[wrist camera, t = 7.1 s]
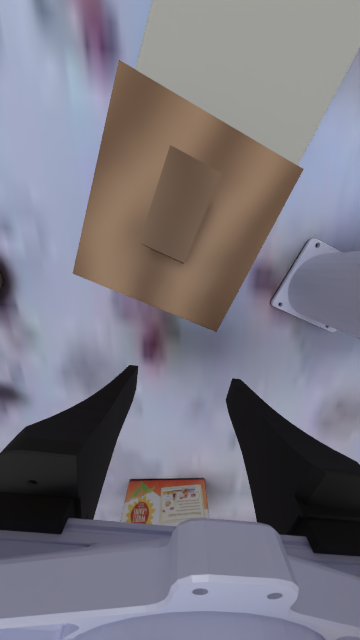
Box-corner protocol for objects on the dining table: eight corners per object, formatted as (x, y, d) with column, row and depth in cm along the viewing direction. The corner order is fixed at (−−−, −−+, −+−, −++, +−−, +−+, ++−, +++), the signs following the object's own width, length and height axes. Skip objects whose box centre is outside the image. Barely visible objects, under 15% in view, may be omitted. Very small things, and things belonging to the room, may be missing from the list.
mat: (393, -23, 12) (402, -34, 12) (274, 206, 17) (277, 204, 16) (201, -185, 10) (202, -207, 10) (125, 124, 15) (123, 120, 14)
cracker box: (132, 498, 32) (57, 870, 12) (129, 478, 30) (35, 878, 11) (203, 497, 32) (243, 867, 12) (205, 477, 30) (254, 875, 11)
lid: (296, 174, 13) (360, 124, 8) (214, 328, 17) (227, 352, 12) (123, 73, 11) (83, -60, 7) (78, 273, 15) (34, 276, 11)
